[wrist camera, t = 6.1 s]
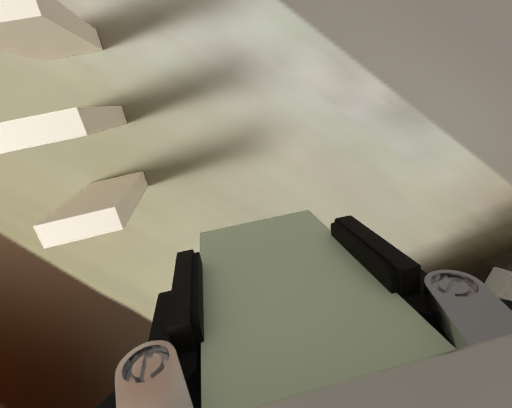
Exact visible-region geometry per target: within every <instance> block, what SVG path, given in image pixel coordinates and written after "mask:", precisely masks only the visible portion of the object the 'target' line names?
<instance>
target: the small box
mask: <svg viewBox="0 0 512 408" xmlns="http://www.w3.org/2000/svg"><path fill="white" fill-rule="evenodd" d="M484 284H485V285H486V286H487V287H488V288H489V289H490V290H491V291H492V292H493V293H494V294H495V295H496V296H497V297H498V298H501V299H506V300H511V301H512V271H508V270H505V269H501V268H498V267H493V269H492V271H491V272H490V274H489V276H488V277H487V279H486V281H485V282H484Z"/></svg>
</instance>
